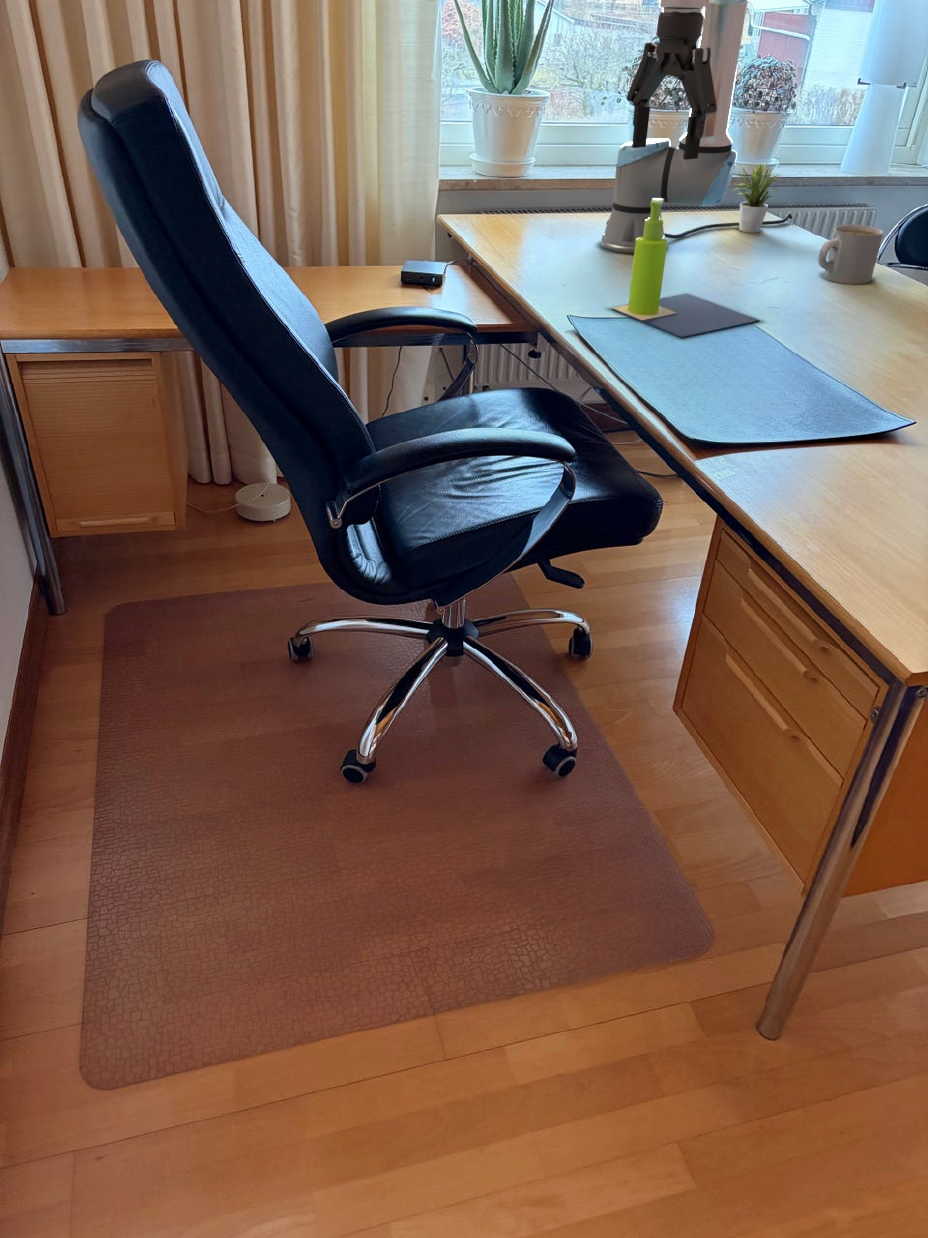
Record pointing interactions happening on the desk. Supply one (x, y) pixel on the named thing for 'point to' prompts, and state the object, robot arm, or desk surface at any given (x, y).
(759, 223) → the house plant
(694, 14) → the robot arm
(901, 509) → the desk surface
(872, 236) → the coffee mug
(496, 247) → the desk surface
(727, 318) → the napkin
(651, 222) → the soap dispenser
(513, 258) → the desk surface
